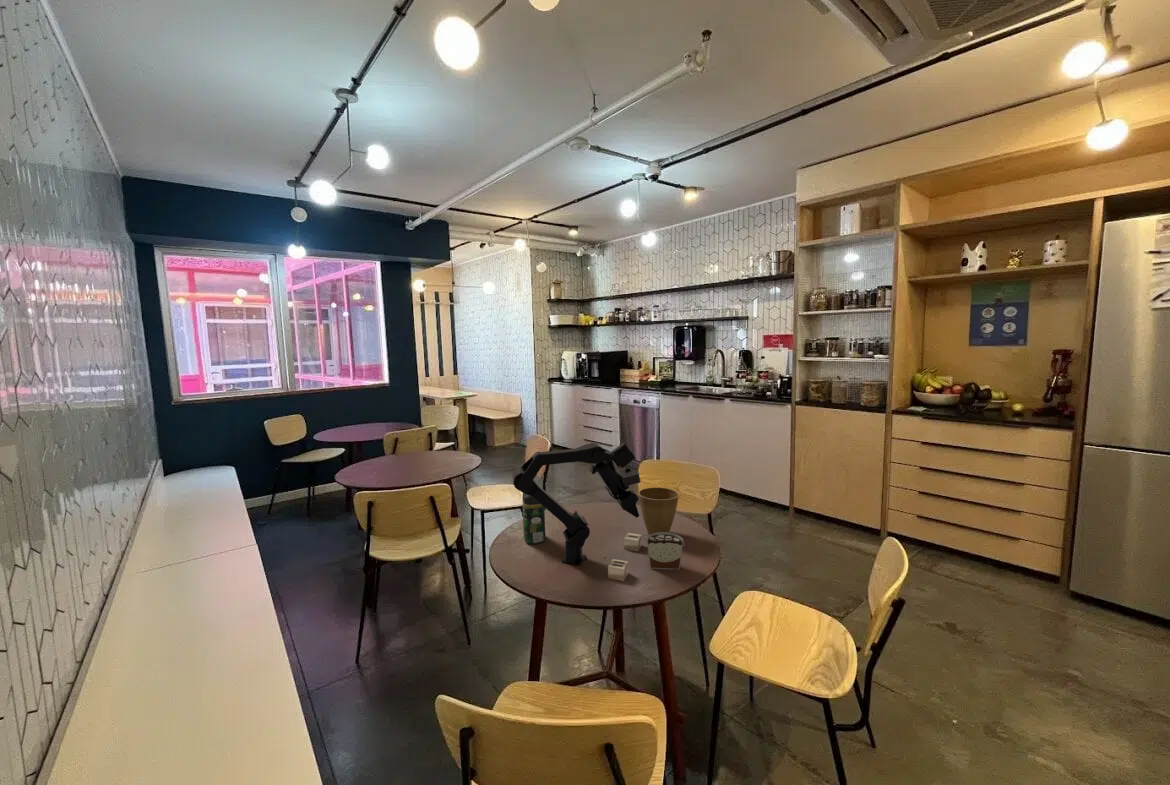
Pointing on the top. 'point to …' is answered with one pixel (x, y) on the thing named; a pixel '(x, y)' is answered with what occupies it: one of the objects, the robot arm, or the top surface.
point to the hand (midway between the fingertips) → (633, 511)
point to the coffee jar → (533, 520)
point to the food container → (665, 550)
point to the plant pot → (658, 508)
